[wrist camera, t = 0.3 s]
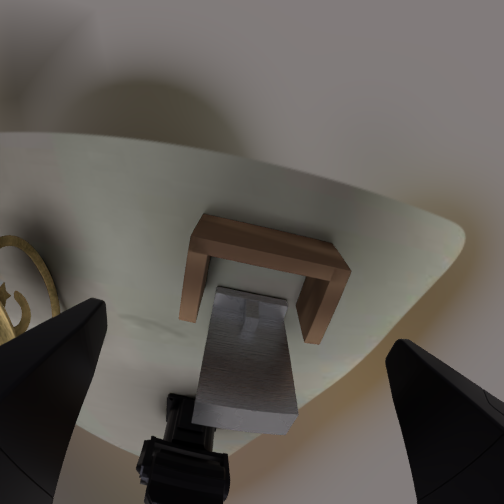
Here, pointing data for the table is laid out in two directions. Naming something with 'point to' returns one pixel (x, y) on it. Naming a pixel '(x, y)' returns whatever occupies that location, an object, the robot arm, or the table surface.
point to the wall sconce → (3, 329)
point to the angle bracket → (246, 366)
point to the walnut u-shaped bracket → (269, 256)
